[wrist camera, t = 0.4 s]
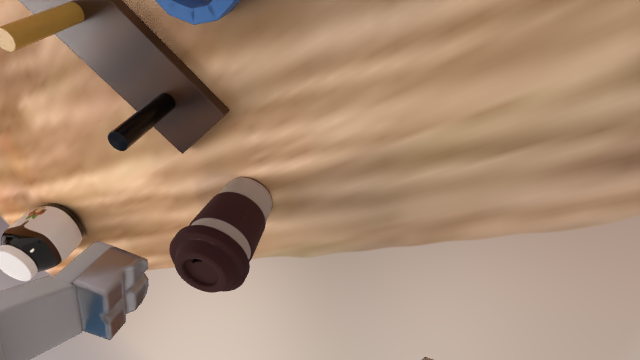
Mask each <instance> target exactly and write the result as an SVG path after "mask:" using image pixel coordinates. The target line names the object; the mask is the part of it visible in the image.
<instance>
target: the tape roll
mask: <svg viewBox="0 0 640 360" xmlns="http://www.w3.org/2000/svg"><path fill="white" fill-rule="evenodd" d="M240 1H241V0H208V1H205V0H156V2H157V3H158V4H159V5H160V6H161V7H162V8H163V9H164V10H165V11H166V12H167V13H168V14H169V15H171V16H174V17H176V18H179V19H181V20H184V21H186V22H189V23H191V24H200V23H206V22H211V21H216V20H219V19H220V18H222V17H223V16H225V15H226V14H228V13H229V12H231V11H232V10H233V9H234V7H235V6H236V5H237V4H238V3H239V2H240Z"/></svg>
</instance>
